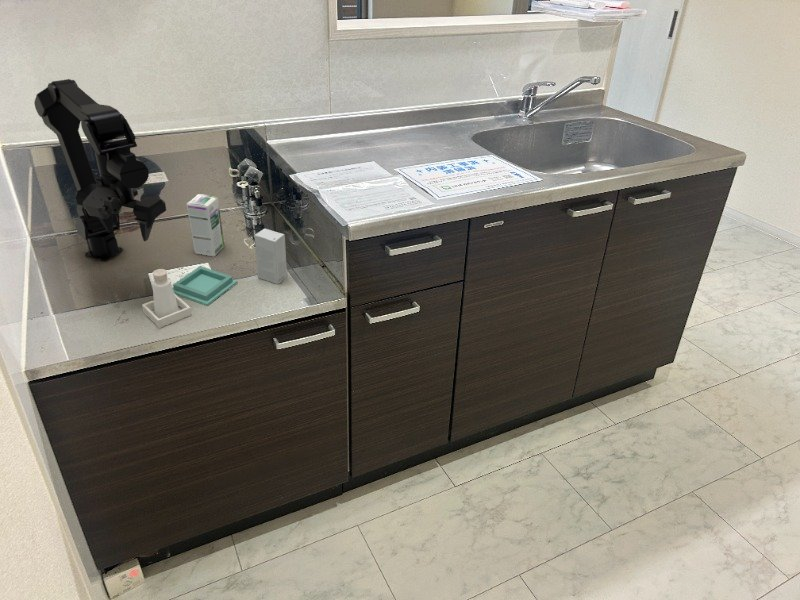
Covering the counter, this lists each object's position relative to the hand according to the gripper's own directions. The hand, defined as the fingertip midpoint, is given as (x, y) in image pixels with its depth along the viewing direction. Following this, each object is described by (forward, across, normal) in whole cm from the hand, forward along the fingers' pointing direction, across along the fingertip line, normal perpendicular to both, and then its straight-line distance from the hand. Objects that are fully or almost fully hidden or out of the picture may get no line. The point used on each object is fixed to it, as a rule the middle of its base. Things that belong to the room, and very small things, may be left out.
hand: (128, 236), depth 135 cm
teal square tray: (+13, +15, +4) cm, 20 cm away
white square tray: (+13, +13, -8) cm, 20 cm away
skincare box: (+13, +27, +15) cm, 34 cm away
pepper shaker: (+13, +13, -8) cm, 20 cm away
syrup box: (+13, +7, +20) cm, 25 cm away
